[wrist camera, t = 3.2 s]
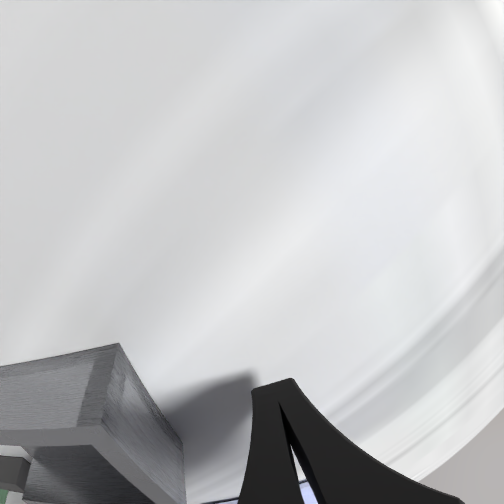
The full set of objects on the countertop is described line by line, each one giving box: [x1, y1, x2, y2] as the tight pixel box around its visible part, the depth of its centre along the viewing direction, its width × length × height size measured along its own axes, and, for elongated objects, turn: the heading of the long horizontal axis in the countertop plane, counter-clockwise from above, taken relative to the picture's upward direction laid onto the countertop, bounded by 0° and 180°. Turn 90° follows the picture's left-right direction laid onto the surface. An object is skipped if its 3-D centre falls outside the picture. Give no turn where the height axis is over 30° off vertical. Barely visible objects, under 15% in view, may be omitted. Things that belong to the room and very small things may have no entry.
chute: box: [0, 343, 187, 504], centre depth 9 cm, size 6×8×4 cm
